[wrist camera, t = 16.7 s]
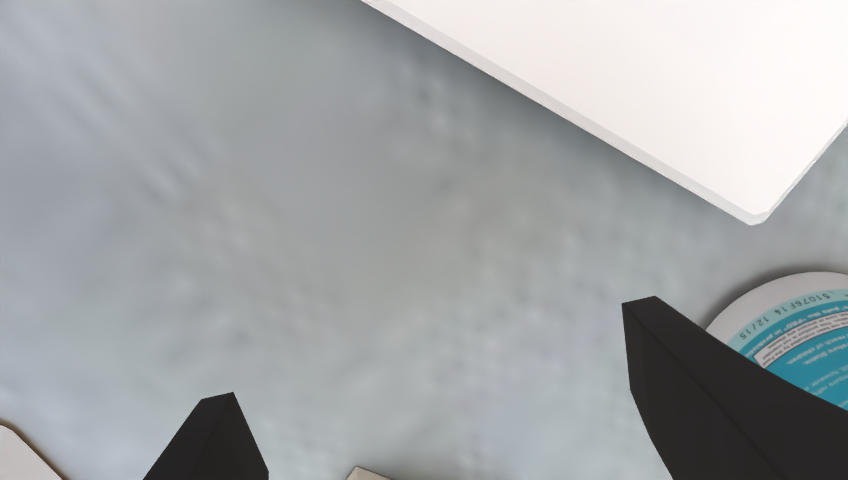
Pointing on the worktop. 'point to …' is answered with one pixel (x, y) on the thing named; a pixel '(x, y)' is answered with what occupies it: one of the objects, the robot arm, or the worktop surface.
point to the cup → (21, 460)
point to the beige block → (364, 475)
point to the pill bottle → (794, 331)
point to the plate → (670, 80)
